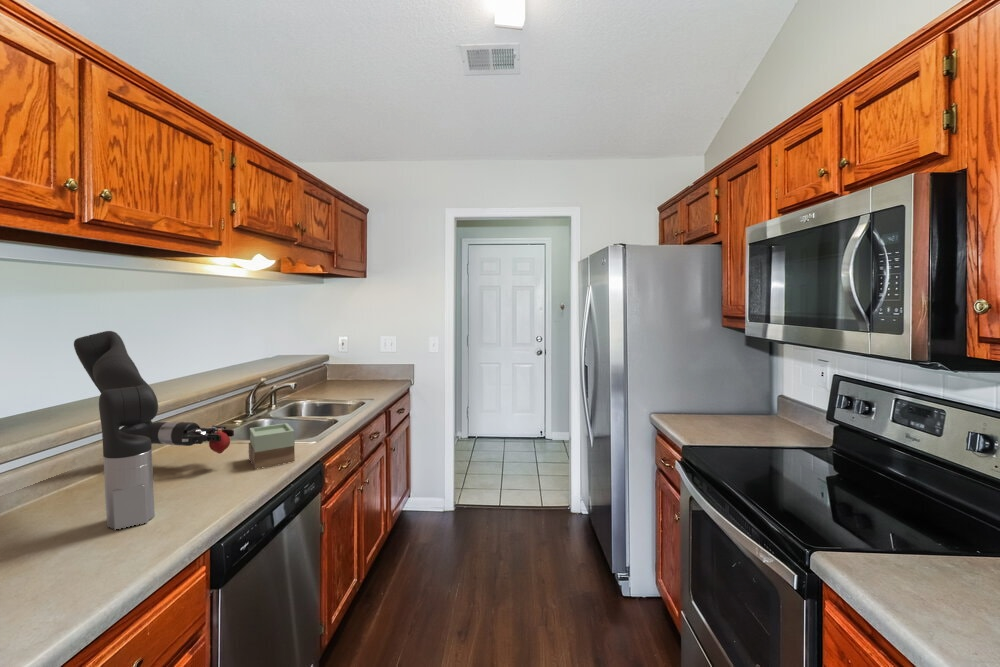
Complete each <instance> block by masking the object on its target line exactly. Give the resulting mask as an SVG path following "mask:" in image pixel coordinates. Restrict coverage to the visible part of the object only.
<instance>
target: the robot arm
mask: <svg viewBox="0 0 1000 667" xmlns="http://www.w3.org/2000/svg"><path fill="white" fill-rule="evenodd" d="M123 340H124V339H122V337H121V336H120V335H119V334H118V333H117V332H115V331H113V330H105V331H102V332H97V333H93V334H89V335H84V336H81V337H77V338H76V339H74V341H73V348H74V351H75V353H76V356H77V358H78V360H79V361H80V363H81V365H82V366H83V369H84V370H85V372H86V373H87V374H88V377H89V378H90V379H91V381H92V383H93V384H94V386H95V387H96V388H97V391H99V392H100V395H99V398H98V412H99V418H100V426H101V436H102V457H103V458H102V459H103V460H102V461H103V475H104V476H103V477H104V478H103V479H104V497H105V511H106V512H105V513H106V526H107V528H109V527H110V528H109V529H113V528H114V529H113V530H114V531H117V530H116V529H119V530H122V529H121V528H123V529H127V528H126V527H128V528H131V527H130V526H132V527H135V526H134V525H136V526H140V525H143V524H144V523H145V524H147V523H148V522H149V521H150V520H152V519H153V518H154V517H155V511H156V510H155V496H154V495H155V493H154V492H155V490H154V473H153V472H154V470H153V469H154V468H153V450H152V449H153V448H152V447H153V446H152V445H153V444H155V445H168V446H184V447H190V446H193V445H199V444H200V445H201V444H203V443H209V441H212V442H219V441H221V435H220V434H215V433H216V432H217V431H218V430H219V429H222V432H224V433H226V434H227V435H228V436H229V438H230V437H231V438H232V437H234V435H235V430H234V429H227V426H224V425H223V426H222V425H215V424H214V425H211V427H207V426H200V425H199V424H198V423H196V422H193V421H192V422H189V421H187V422H185V421H171V422H167V421H166V422H165V421H155V422H153V421H152V420H153V419H154V418H156V416H157V414H158V412H159V403H158V398H157V394H156V393H155V391H154V390H153V388H152V387H151V386H150V385H149V383H147V381H145V380H144V378H143V377H142V375H141V374H140V372H139V370H138V368H137V366H136V364H135V362H134V361H133V360H132V358H131V357H130V355H129V353H128V351H127V348H126V346H125V342H124V341H123ZM139 524H140V525H139Z"/></svg>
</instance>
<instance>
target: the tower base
mask: <svg viewBox="0 0 1000 667" xmlns="http://www.w3.org/2000/svg"><path fill="white" fill-rule="evenodd" d="M295 458H296V457H295V446H290V447H284V448H278V449H272V450H266V451H260V452H255V451H254V449H253V447H252V446H251V444H250V442H248V460H249V459H250V460H249V461H251V462H250V463H251V465H252V464H253V465H252V466H254V467H253V468H254V470H258V469H257V468H260V469H263V468H262V467H265V468H269V467H268V466H271V467H274V466H273V465H276V466H279V465H278V464H281V465H284V464H283V463H286V464H289V463H288V462H291V463H293V462H292V461H295V460H296V459H295Z"/></svg>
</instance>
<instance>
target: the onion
mask: <svg viewBox="0 0 1000 667" xmlns="http://www.w3.org/2000/svg"><path fill="white" fill-rule="evenodd" d="M215 434H220V435H221V441H219V442H212V441H209V442H208V446H209V448H210V449H211V451H213V452H215V453H217V454H222V453H224V451H225V450H227V449H228V448H229V447H230V444H231V439H230V437H229V436H228V435H227V434H226V433H224V432H222V429H219V430H218V431H217V432H216V433H215Z"/></svg>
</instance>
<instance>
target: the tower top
mask: <svg viewBox="0 0 1000 667" xmlns="http://www.w3.org/2000/svg"><path fill="white" fill-rule="evenodd" d="M295 439H296V438H295V430H294V429H293V427H292V426H291V425H290V424H289V423H288V422H285V423H278V424H277V423H276V424H272V425H271V424H269V425H265V426H264V425H263V426H257V427H249V443H250V444H251V446H252V447H253V449H254V451H255V452H260V451H266V450H272V449H278V448H284V447H290V446H294V447H295V446H296V445H295V442H296V441H295Z"/></svg>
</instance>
